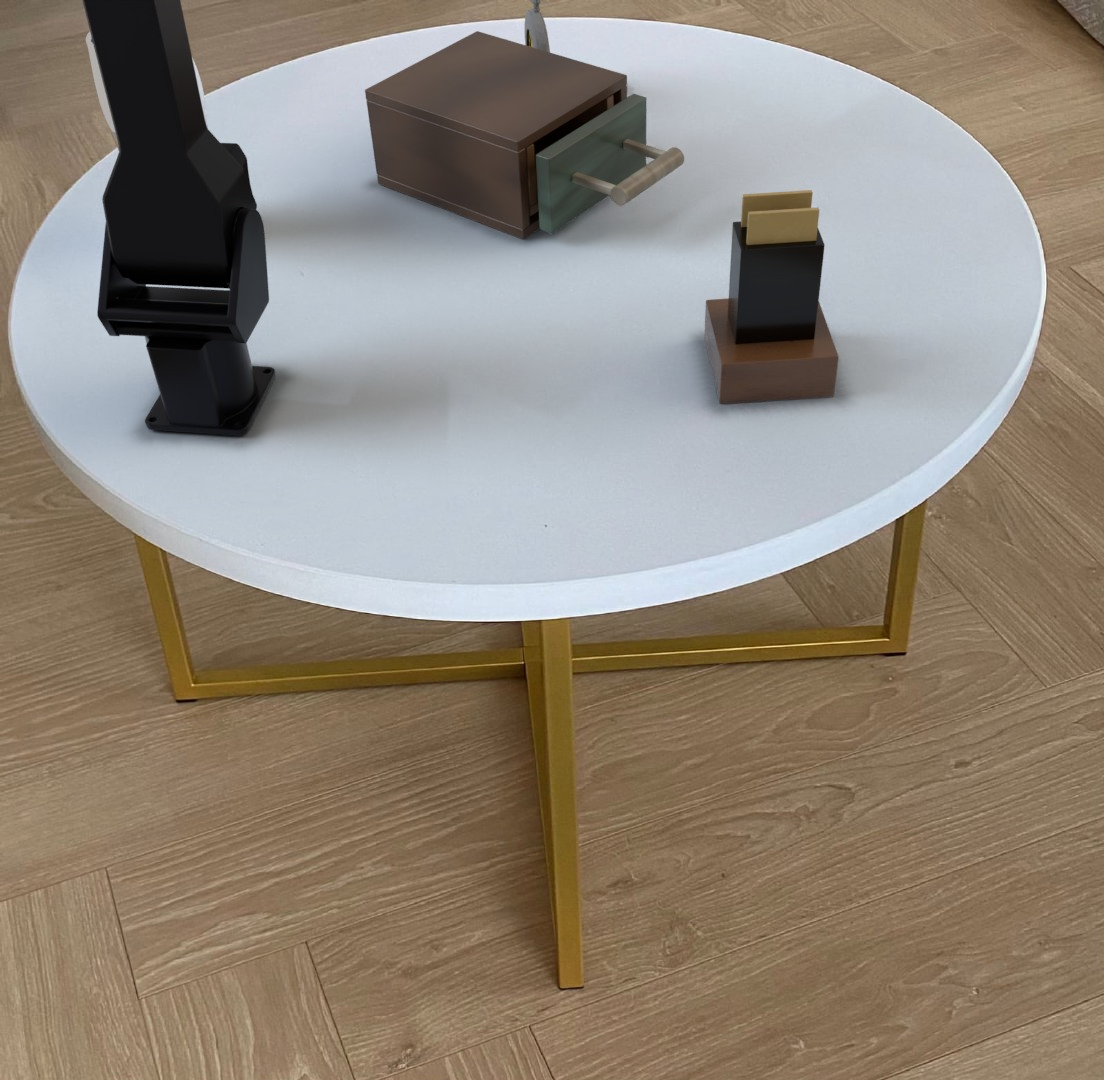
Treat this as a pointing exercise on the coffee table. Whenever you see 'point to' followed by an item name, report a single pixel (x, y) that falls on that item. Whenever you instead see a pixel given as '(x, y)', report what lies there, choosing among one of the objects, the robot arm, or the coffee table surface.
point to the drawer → (594, 162)
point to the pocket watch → (536, 29)
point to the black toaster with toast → (775, 268)
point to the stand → (768, 362)
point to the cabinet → (478, 124)
